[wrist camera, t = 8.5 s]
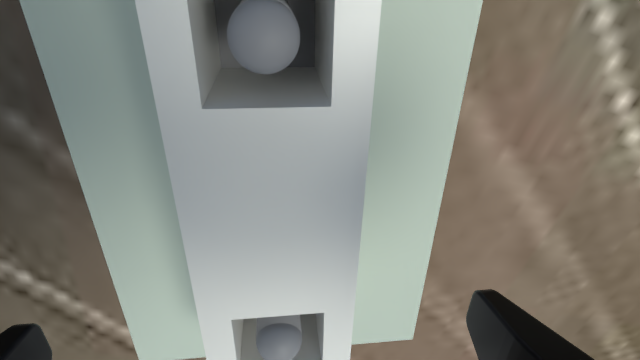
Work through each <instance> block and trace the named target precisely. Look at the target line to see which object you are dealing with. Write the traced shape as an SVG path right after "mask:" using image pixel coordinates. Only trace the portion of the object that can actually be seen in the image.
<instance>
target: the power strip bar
mask: <svg viewBox="0 0 640 360" xmlns="http://www.w3.org/2000/svg"><path fill="white" fill-rule="evenodd" d="M135 4H136V9H137V14H138V19H139V24H140V29H141V34H142V39H143V44H144V49H145V54H146V59H147V64H148V69H149V74H150V79H151V84H152V89H153V94H154V99H155V104H156V109H157V114H158V119H159V124H160V129H161V134H162V139H163V144H164V149H165V154H166V159H167V165H168V170H169V175H170V180H171V185H172V190H173V195H174V200H175V205H176V210H177V215H178V220H179V225H180V230H181V235H182V240H183V245H184V250H185V255H186V260H187V265H188V270H189V275H190V280H191V285H192V290H193V295H194V300H195V305H196V310H197V315H198V320H199V325H200V330H201V335H202V340H203V345H204V350H205V355H206V360H265V359H264V358H263V357H262V356H261V355H260V353H259V352H258V349H257V345H256V325H257V318H262V317H275V316H288V315H300V319H301V331H302V344H301V347H300V350H299V352H298V353H297V355H296V356H295V357H294V358H293V359H292V360H350V354H351V342H352V331H353V320H354V309H355V297H356V286H357V275H358V264H359V252H360V241H361V230H362V219H363V207H364V196H365V185H366V174H367V162H368V151H369V140H370V128H371V117H372V106H373V95H374V83H375V72H376V61H377V50H378V38H379V27H380V16H381V5H382V0H315V67H286V68H285V69H283V70H281V71H279V72H276V73H273V74H258V73H254V72H251V71H249V70H247V69H246V68H221V61H220V52H219V42H218V33H217V24H216V14H215V5H214V0H135Z"/></svg>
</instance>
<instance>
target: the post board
mask: <svg viewBox="0 0 640 360" xmlns="http://www.w3.org/2000/svg"><path fill="white" fill-rule="evenodd" d="M19 1H20V4H21V7H22V10H23V13H24V16H25V19H26V22H27V25H28V28H29V31H30V34H31V37H32V40H33V43H34V46H35V49H36V52H37V55H38V58H39V61H40V64H41V67H42V70H43V73H44V76H45V79H46V82H47V85H48V88H49V91H50V94H51V97H52V100H53V103H54V106H55V109H56V112H57V115H58V118H59V121H60V124H61V127H62V130H63V133H64V136H65V139H66V142H67V145H68V148H69V151H70V154H71V157H72V160H73V163H74V166H75V169H76V172H77V175H78V178H79V181H80V184H81V187H82V190H83V193H84V196H85V199H86V202H87V205H88V208H89V211H90V214H91V217H92V220H93V223H94V226H95V229H96V232H97V235H98V238H99V241H100V244H101V247H102V250H103V253H104V256H105V259H106V262H107V265H108V268H109V271H110V274H111V277H112V280H113V283H114V286H115V289H116V292H117V295H118V298H119V301H120V304H121V307H122V310H123V313H124V316H125V319H126V322H127V325H128V328H129V331H130V334H131V337H132V340H133V343H134V346H135V349H136V352H137V355H138V358H139V360H177V359H188V358H200V357H206V355H205V350H204V345H203V340H202V335H201V330H200V325H199V320H198V315H197V310H196V305H195V300H194V295H193V290H192V285H191V280H190V275H189V270H188V265H187V260H186V255H185V250H184V245H183V240H182V235H181V230H180V225H179V220H178V215H177V210H176V205H175V200H174V195H173V190H172V185H171V180H170V175H169V170H168V165H167V159H166V154H165V149H164V144H163V139H162V134H161V129H160V124H159V119H158V114H157V109H156V104H155V99H154V94H153V89H152V84H151V79H150V74H149V69H148V64H147V59H146V54H145V49H144V44H143V39H142V34H141V29H140V24H139V19H138V14H137V9H136V4H135V0H19ZM482 2H483V0H382V5H381V16H380V27H379V38H378V50H377V61H376V72H375V83H374V95H373V106H372V117H371V128H370V140H369V151H368V162H367V174H366V185H365V196H364V207H363V219H362V230H361V241H360V252H359V264H358V275H357V286H356V297H355V309H354V320H353V331H352V342H351V345H352V344H363V343H375V342H387V341H398V340H410V339H413V335H414V330H415V325H416V320H417V316H418V311H419V306H420V301H421V296H422V292H423V287H424V282H425V277H426V272H427V267H428V263H429V258H430V253H431V248H432V243H433V238H434V234H435V229H436V224H437V219H438V214H439V210H440V205H441V200H442V195H443V190H444V185H445V181H446V176H447V171H448V166H449V161H450V156H451V152H452V147H453V142H454V137H455V132H456V128H457V123H458V118H459V113H460V108H461V103H462V99H463V94H464V89H465V84H466V79H467V74H468V70H469V65H470V60H471V55H472V50H473V46H474V41H475V36H476V31H477V26H478V21H479V17H480V12H481V7H482ZM214 5H215V14H216V24H217V33H218V42H219V52H220V61H221V68H246V69H247V70H249V71H251V72H254V73H258V74H273V73H276V72H279V71H281V70H283V69H285V68H286V67H315V0H214ZM301 344H302V331H301V319H300V315H288V316H275V317H262V318H257V325H256V345H257V349H258V352H259V353H260V355H261V356H262V357H263V358H264V359H265V360H292V359H293V358H294V357H295V356H296V355H297V353H298V352H299V350H300V347H301Z"/></svg>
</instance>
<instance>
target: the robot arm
mask: <svg viewBox="0 0 640 360" xmlns="http://www.w3.org/2000/svg"><path fill="white" fill-rule="evenodd" d="M466 323H467V327H468V330H469V333H470V336H471V339H472V342H473V344H474V347H475V350H476V353H477V356H478V359H479V360H594V359H593V358H591V357H590V356H589V355H587V354H586V353H584V352H583V351H581V350H580V349H579V348H577V347H576V346H574V345H573V344H571V343H570V342H569V341H567V340H566V339H564V338H563V337H561V336H560V335H559V334H557V333H556V332H554V331H553V330H551V329H550V328H548V327H547V326H546V325H544V324H543V323H541V322H540V321H538V320H537V319H536V318H534V317H533V316H531V315H530V314H528V313H527V312H526V311H524V310H523V309H521V308H520V307H518V306H517V305H516V304H514V303H513V302H511V301H510V300H508V299H507V298H505V297H504V296H503V295H501V294H500V293H498V292H497V291H495V290H492V289H488V290H477V291H475V292H474V293H473V295H472V298H471V302H470V305H469V309H468V312H467V316H466ZM0 360H52V350H51V348H50V346H49V344H48V342H47V339H46V337H45V335H44V333H43V331H42V329H41V328H40V326H39V325H37V324H34V323H32V324H19V325H14V326H11V327H9V328H8V329H6V330H5V331H4V332H2V333H1V334H0Z"/></svg>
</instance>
